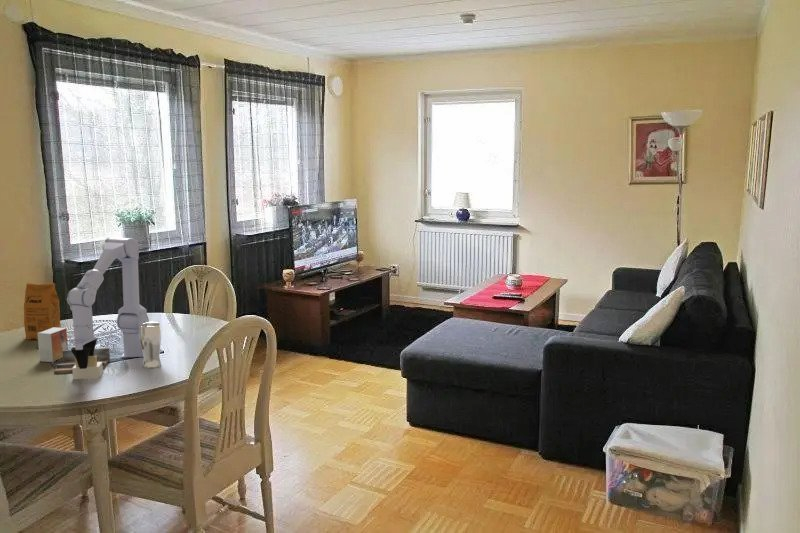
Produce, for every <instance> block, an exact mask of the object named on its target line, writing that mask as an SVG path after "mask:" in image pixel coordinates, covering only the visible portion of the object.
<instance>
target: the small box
mask: <svg viewBox="0 0 800 533" xmlns="http://www.w3.org/2000/svg"><path fill="white" fill-rule="evenodd" d="M67 333H68V331H67V327H61V328H56V327H53V328H51V329H48V330H45V331H42V332H39V333H37V334H38V340H37V343H38V346H37V347H38V355H39V362H47V363H55V362H56V360H57V361H59V360H61V359H60V358H62V359H63V350H69V347H68V334H67ZM58 359H59V360H58ZM54 361H55V362H54Z"/></svg>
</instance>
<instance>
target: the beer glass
mask: <svg viewBox="0 0 800 533" xmlns="http://www.w3.org/2000/svg"><path fill="white" fill-rule="evenodd" d="M139 326H140V328H139V338H140V345H141V349H142V353H143V357H142V358H143V360H142V368H143V369H145V370H152V369H153V370H154V369H158V368H161V367H162V361H161V358H160V353H161V352H160V351H161V345H162V332H161V331H162V330H161V323H159V322H156V321H149V322H147V323H142V324H140V325H139Z"/></svg>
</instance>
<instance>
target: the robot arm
mask: <svg viewBox="0 0 800 533" xmlns="http://www.w3.org/2000/svg"><path fill="white" fill-rule="evenodd" d="M101 246H102V248H101V250H102V252H101V254H100V256H99V257H98V260H97V261H96V262H95V265H94V267H93V268H92V269H89V270H87V271H86V272H85V274H84V275H83V277H82V278H81V280H80V282H78V284H77V286H76V287H74V288H72V289H71V290H69V291H68V293H67V298H66V302H67V304H68V305H69V308H70V311H71V313H72V322H73V323H72V327H73V334H74V335H73V337H71V338H69V340H70V342H74V347H72V348H70V350H71V352H72V353H73V354H74V356H75V358H76V360H77V363H78V366H79V368H80V369H86V368H87V366H88V356H93V355H94V349H95V348H96V345H97V342H98V341H99V339H98V338H95V333H94V323H93V322H94V319H93V318H94V317H93V308H92V306H93V305H94V303H95V302H96V295H97V293H98V292H97V291H98V290H99V288H100V286H101V285H102V284H103V281H104V280H105V279H104V275H105V273H106V271H107V270H108V269H109V267H110V266H111V265H112V264H113V263H114V261H115V260H118V261H119V262H121V267H122V268H121V272H122V296H123V298H122V300H123V306H121V307H120V308H118V311H117V317H116V326H117V327H118V328H119V330H120V332H121V333H122V340H123V341H122V343H123V353H122V355H121V356H120V357H121V358H123V359H124V358H139V357H142V358H143V353H142V349H141V345H140V338H139V328H140V326H139V325H140V324H142V323H147V322H150V318H149V316H148V312H147V311H148V310H147V308H145V307H144V306H142V305H141V304H140V286H139V285H140V280H139V259H140V256H139V255H140V254H139V242H138V241H137V240H136V239H135V238H133V237H112V236H109V237H108V236H107V237H106V238H105V240H104V242H103V244H101Z"/></svg>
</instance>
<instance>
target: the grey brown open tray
mask: <svg viewBox="0 0 800 533" xmlns="http://www.w3.org/2000/svg"><path fill="white" fill-rule="evenodd" d="M93 356H97V362H102V366H103V371H104V369H105V368H106V367H107V365H108V363H110V360H111V354H110V347H100V348H99V347H98V348H97V347H95V349H94V355H93ZM75 364H76V361H75V356H74V354H73V353H72V352H71V349H68V350H63V358H62V361H61V362H60V363H57V364H56V368H55V369H54V370H53V373H54V374H56V375H57V374H71V373H72V374H73V371H72V368H73V367H74V365H75Z"/></svg>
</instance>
